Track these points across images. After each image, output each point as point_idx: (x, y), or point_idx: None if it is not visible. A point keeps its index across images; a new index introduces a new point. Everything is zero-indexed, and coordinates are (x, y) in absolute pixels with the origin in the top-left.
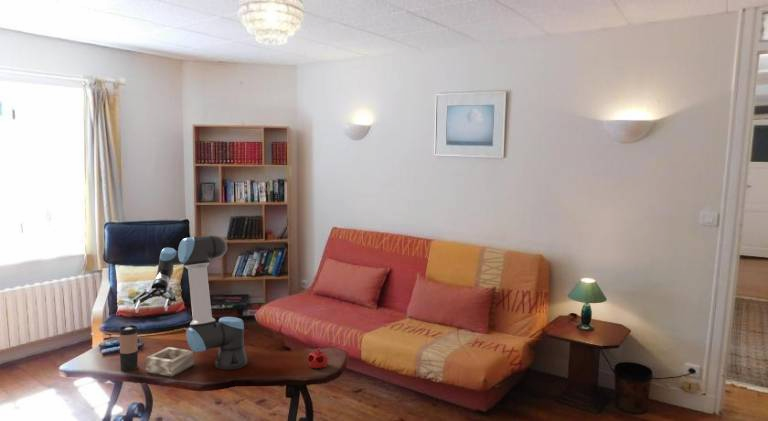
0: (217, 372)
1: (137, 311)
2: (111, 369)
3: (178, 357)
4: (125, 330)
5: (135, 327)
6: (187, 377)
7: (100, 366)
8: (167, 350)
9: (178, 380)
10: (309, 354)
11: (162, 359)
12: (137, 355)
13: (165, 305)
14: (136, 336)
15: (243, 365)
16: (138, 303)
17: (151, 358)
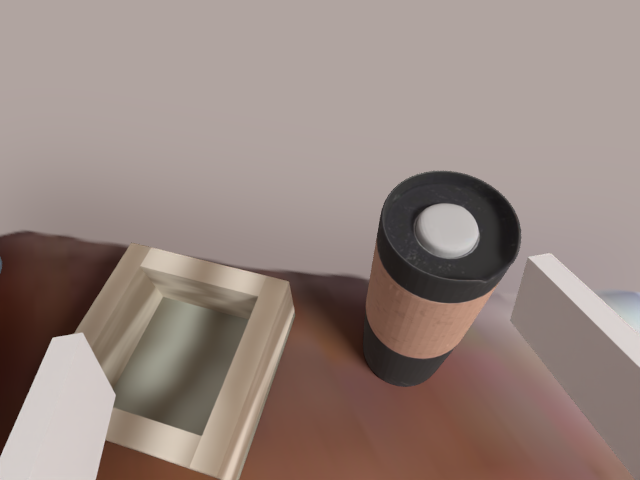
0: None
1: (520, 317)
2: (477, 326)
3: (108, 298)
4: (430, 173)
5: (418, 273)
6: (90, 278)
7: None
8: (209, 422)
9: (124, 249)
10: None
11: (189, 265)
12: (367, 335)
13: (57, 362)
14: (374, 263)
15: None
16: (631, 356)
17: (253, 273)
